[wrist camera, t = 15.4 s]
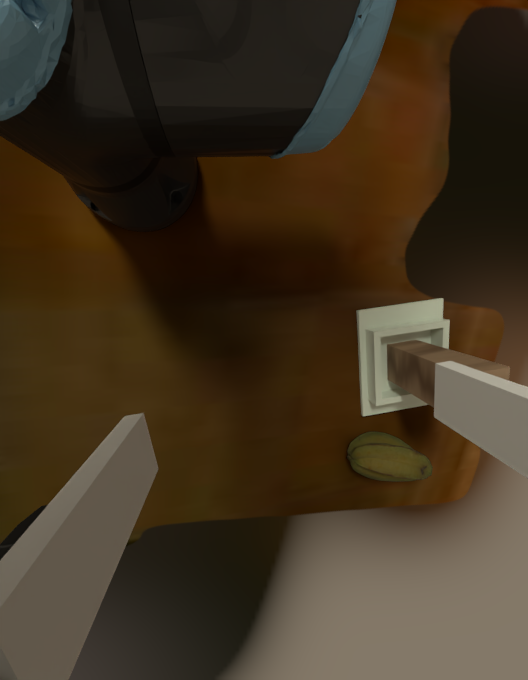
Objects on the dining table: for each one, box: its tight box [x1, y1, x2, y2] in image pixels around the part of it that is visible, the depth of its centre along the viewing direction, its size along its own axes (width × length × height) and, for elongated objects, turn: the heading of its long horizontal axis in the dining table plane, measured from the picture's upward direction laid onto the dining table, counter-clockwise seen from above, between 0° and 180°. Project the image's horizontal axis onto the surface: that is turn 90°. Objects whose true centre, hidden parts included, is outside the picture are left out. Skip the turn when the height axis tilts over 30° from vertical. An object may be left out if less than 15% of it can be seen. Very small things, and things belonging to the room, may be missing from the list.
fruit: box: [347, 432, 432, 482], centre depth 41 cm, size 11×12×7 cm
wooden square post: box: [387, 340, 510, 407], centre depth 33 cm, size 6×5×14 cm
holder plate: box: [357, 298, 450, 416], centre depth 39 cm, size 18×14×3 cm
